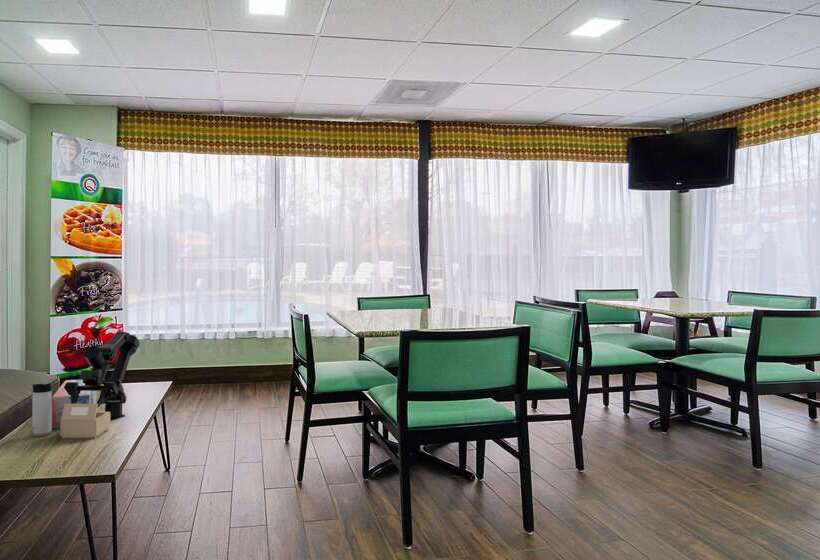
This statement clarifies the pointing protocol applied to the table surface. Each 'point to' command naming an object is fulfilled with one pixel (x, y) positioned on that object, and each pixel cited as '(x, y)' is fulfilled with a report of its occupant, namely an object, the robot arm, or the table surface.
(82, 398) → the soda box
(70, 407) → the carton flap
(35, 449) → the table surface
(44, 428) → the travel mug
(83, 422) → the carton
